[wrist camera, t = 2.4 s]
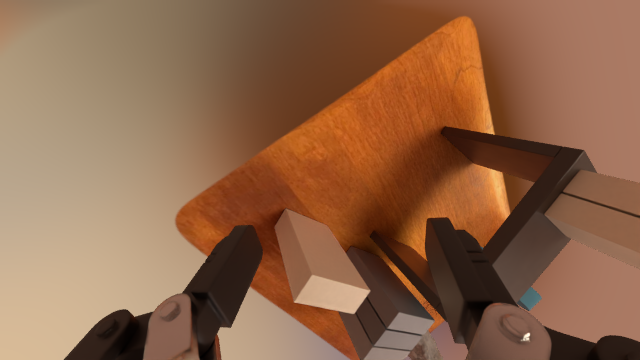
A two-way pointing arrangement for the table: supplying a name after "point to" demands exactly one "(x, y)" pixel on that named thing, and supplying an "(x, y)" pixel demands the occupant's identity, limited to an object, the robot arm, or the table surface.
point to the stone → (425, 349)
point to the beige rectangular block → (318, 265)
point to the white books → (601, 214)
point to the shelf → (521, 225)
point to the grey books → (384, 312)
